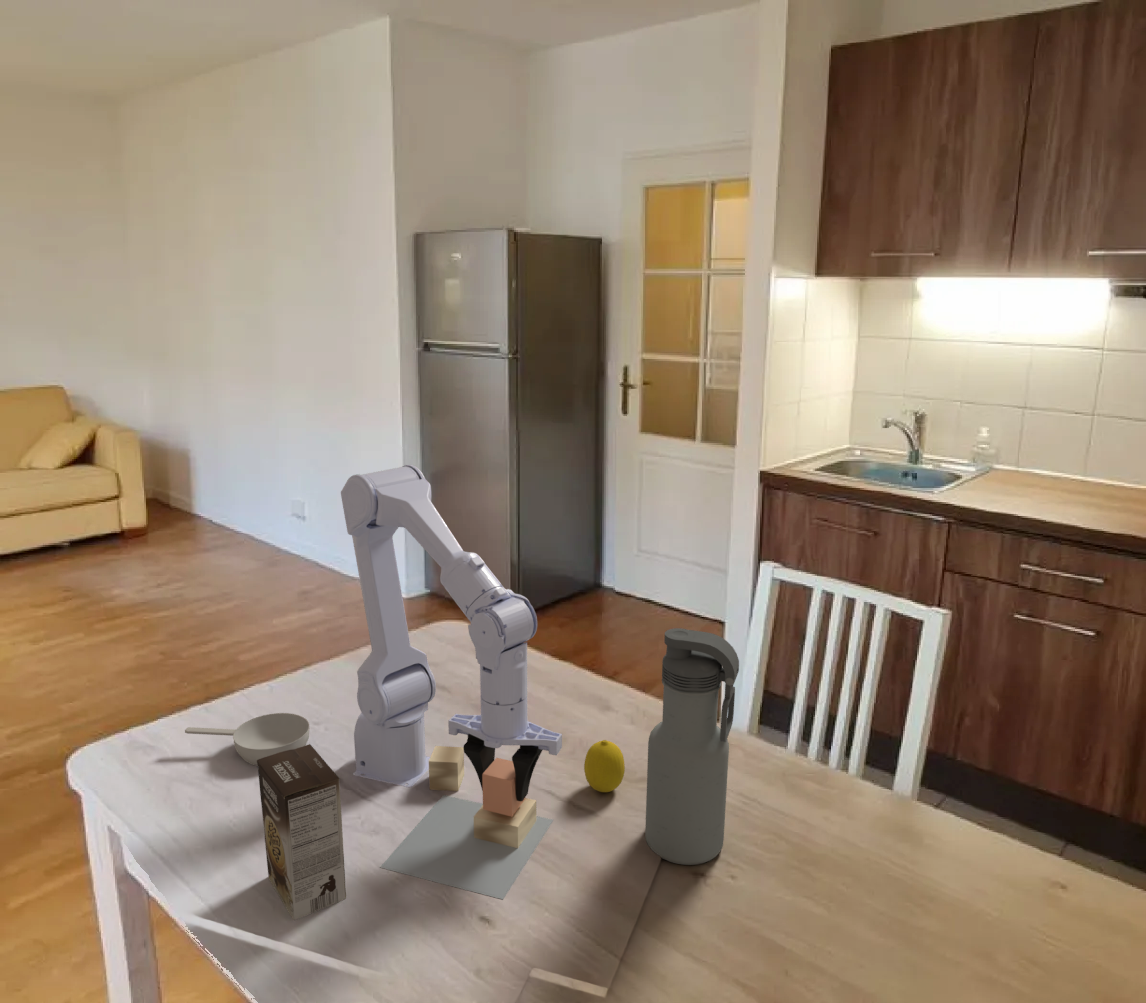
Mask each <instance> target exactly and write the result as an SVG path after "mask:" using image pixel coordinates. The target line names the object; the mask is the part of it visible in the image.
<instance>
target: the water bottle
mask: <svg viewBox="0 0 1146 1003" xmlns="http://www.w3.org/2000/svg"><path fill="white" fill-rule="evenodd" d="M663 640H664V642H663V643H664V645H666V652H665V655H663V657H662V661H661V662H662V663H661V664H662V666H661V667H662V668H661V670H662V671H661V683H662V686H663V691H662V692H663V694H662V696H663V698H662V720H661V722H659V723H657V724H656V725H655V726H654V727H653V729H652V730H651V732H650V734H649V735H648V740H647V741H648V742H647V770H646V771H647V772H646V798H645V828H644V829H645V831H644V832H645V833H644V834H645V841H646V843H647V845H648V847H649V848H650V849H651V850H652V851H653V853H655V854H656V855H657V856H659V857H661V859H663V860H665V861H667V862H670V863H673V864H677V865H682V866H683V865H684V866H692V865H694V866H695V865H701V864H705V863H706V862H710V861H712V860H713V859H714V858H716V857H717V856H718V855H719V854H720V852H722V849H723V846H724V840H725V825H726V824H725V823H726V806H727V788H728V787H727V786H728V771H729V758H730V757H729V756H730V754H729V753H730V746H729V740H728V738H729V734H730V732H731V729H732V726H733V721H734V713H735V712H734V711H735V696H736V687H735V686H734V685H735V682H736V679H737V677H738V674H739V672H740V659H739V657H738V653H737V652H736V650H735V649H734V646H732V645H731V644H730V643H729V642H728V640H726V639H725V638H723V637H722V636H719V635H717V634H715V633H711V632H707V631H700V630H694V629H693V630H692V629H687V628H682V627H681V628H680V627H679V628H677V627H676V628H670V629H667V630H666V631H665V632H664V639H663ZM722 682H724V699H723V701H722V706H721V713H720V727H719V726H718V725H717V724H718V708H719V706H718V705H719V690H720V689H721V686H722Z"/></svg>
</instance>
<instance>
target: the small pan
mask: <svg viewBox="0 0 1146 1003" xmlns="http://www.w3.org/2000/svg"><path fill="white" fill-rule="evenodd" d="M184 733H185V734H189V735H190V734H192V735H209V736H211V735H213V736H232V739H233V744H234V748H235V751H236V752H237V753H238V754H239V757H240V758H242V759H243V760H244V761H245V762H246V763H248V764H250V765H252V766H256V767H258V765H257V760H258V759H261V758H264V757H267V756H270V755H273V754H276V753H279V752H283V751H287V750H291V749H296V748H299V747H303V746H306V745H308V744H307V743H308V741H309V738H310V722H309V720H307V719H306V718H305V717H304V716H303V715H299V714H296V713H289V712H275V713H268V714H264V715H260V716H257V717H254V718H250V719H248V720H246V721H245V722H243V723H242V724H240V725H239V726H238V727H237V728H236V729H235V728H233V729H232V728H231V729H230V728H216V727H215V728H212V727H211V728H209V727H191V726H190V727H186V728H185V729H184Z"/></svg>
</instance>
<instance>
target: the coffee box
mask: <svg viewBox="0 0 1146 1003" xmlns="http://www.w3.org/2000/svg"><path fill="white" fill-rule="evenodd" d="M257 765H258V766H257ZM257 765H256V766H257V773H258V774H257V775H258V782H259V783H258V784H259V794H260V803H261V813H262V824H263V833H264V845H265V852H266V853H265V855H266V866H267V875H268V880H269V881H270V883H271V885H272V887H273V889H274V890H275V892H276V894H277V895H278V897H279V899H280V901H281V902H282V904H283V905H284V907H285V909H286V910H287V913H289V915H290V917H291V919H292V920H293V921H296V920H300V919H301V918H303V917H307V916H309V915H311V914H313V913H314V914H315V912H318V911H321V910H323V909H325V908H327V907H330V906H332V905H335V904H336V903H340V902H341V901H344V900H345V899H347V890H346V873H345V856H344V855H345V853H344V837H343V833H344V832H343V817H342V815H343V814H342V804H341V802H342V800H341V784H340V777H339V776H338V775H337V773H335V771H334V770H333V769H332V768H331V767H330V765H329V764H328V763H327V762H326V761H325V759H324V758H323V757H321V755H320V754H319V752H318V751H316V749H315V748H314V746H312V745H311V744H310V743H308V744H306V745H305V746H303V747H299V748H296V749H291V750H287V751H283V752H279V753H276V754H273V755H270V756H267V757H264V758H261V759H258V760H257Z"/></svg>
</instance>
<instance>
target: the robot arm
mask: <svg viewBox="0 0 1146 1003" xmlns="http://www.w3.org/2000/svg"><path fill="white" fill-rule="evenodd" d="M340 497H341V502H342V507H343V508H342V509H343V514H344V520H345V525H346V526H345V527H346V531H347V534H348V535H350V536H352V543H353V547H354V548H353V549H354V555H355V560H356V567H357V571H358V576H359V583H360V590H361V595H362V602H363V607H364V613H365V617H366V618H365V619H366V622H367V628H368V635H369V640H370V646H371V651H370V653H369V655H368V656H367V657H366V659H364V661H363V662H362V664H361V665H360V666H359V668H358V669H357V670H356V673H357V682H358V687H357V693H356V698H357V699H356V700H357V704H358V707H359V710H360V714H359V716H358V717H357V719H356V722H355V726H354V730H353V739H354V740H353V742H354V743H353V744H354V760H355V771H354V772H353V773H352V774H353V776H356V777H361V778H365V779H369V780H375V781H378V782H382V783H387V784H391V785H396V786H401V787H406V788H412V787H414V785H415V784H417V782H418V781H419V780H420V779H421V778H422V777H423V776H424V775H425V774H426V773H427V772H429V759H430V757H431V756H427V755H426V754H427V753H426V734H425V733H426V732H425V712H427V711H428V710H429V703H430V702H432V701H433V699H434V698H435V696H436V690H437V683H436V679H435V675H434V674H433V671H432V670H431V668H430V664H429V662H428V657H427V653H426V652H424V651H422V650H421V649H418V648H417V647H414V646H412V645H411V641H410V635H409V628H408V623H407V616H406V611H405V604H404V600H403V593H402V587H401V581H400V575H399V570H398V563H397V558H396V552H395V545H394V540H393V537H394V535H395V533H396V532H397V531H398V529H399V528H403V529H404V528H405V530H406V531H407V532H408V533H409V534H410V535H411V536H412V537H413V538H414V539H415V540H416V542H417V543H418V544H419V545H420V546H421V547H422V548H423V550H424V551H425V552H426V553H427V554H428V555H429V556H430V557H431V558H432V559H433V560H434V561H435V563H437V565H439V567H440V575H439V576H440V577H439V581H440V584H441V585H442V586H443V587H444V589H445V590H446V592H447V593H448V594H449V595H450V597H451V598H452V600H453V601H454V602H455V604H456V605H457V606H458V608H460V610H461V611H462V612H463V614H464V615H465V617H466V618H467V620H468V621H469V622H470V624H468V625H467V628H468V634H469V637H470V640H471V642H472V644H473V646H474V651H475V659H476V660H477V662H476V663H478V664H479V675H480V676H479V679H480V680H479V685H480V686H479V688H480V714H460V713H455V714H454V715H453V716H451V717H450V718H449V719H448V722H447V723H448V734H449V735H451V736H457V735H458V734H460V735H467V739H466V742H465V743H464V744H463V747H464V755H465V756H467V758H468V759H469V761H470V763H471V764H472V765H473V766H472V767H473V768H474V769H475V770H474V771H475V772H476V775H477V779H478V781H479V783H480V787H481V788H480V789H481V792H483V783H482V774H483V773H484V772H485V770H486V769H487V768H488V767H489V766H490V765H491V764H492V762H493V761H494V760H495V759H496V758H495V757H496V756H495V754H496V749H499V748H501V747H502V746H519V748H517V750H516V751H515V752H514V754H513V755H512V756H511V761H513V764H514V769H515V775H516V799H517V801H523V800H524V798H526V797H527V796H528V794H529V788H530V783H531V780H532V779H531V778H532V776H533V774H534V770H535V768H536V765H537V763H538V760H539V759H540V757H541V754H542V752H543V751H547V752H548V754H549V755H552V756H557V755H558V754H559V753H560V751H561V750H562V748H563V733H560V732H555V731H552V730H550V729H547V728H545V727H543V726H541V725H538V724H536V723H533V722H531V721H529V719H528V641H529V640H530V639H532V638H533V637H534V636H535V635H536V633H537V630H538V617H537V613H536V611H535V609H534V607H533V605H532V604H531V602H530V600H529V599H528V598H527V597H526V596H524V595H522V594H520V593H515V592H514V591H513V590H512V589H510V588H507V589H506V588H505V587H504V585H502V583H501V582H500V580H499V579H498V578H497V576H495V574H494V573H493V571H491V569H490V568H489V567H488V565H487V564H486V563H485V561H484V560H483V559H482V558H481V556H480V555H479V554H478V553H476V552H473V551H470V552H469V551H464V550H463V547H462V546H461V545H460V543H459V542H458V540H457V539H456V537H455V536H454V534H453V533H452V531H451V530H450V528H449V527H448V525H447V523H446V522H445V520H444V519H443V517H442V515H441V514H440V513H439V511H438V510H437V508H436V507H435V504H433V502H432V486H431V483H430V482H429V481H428V480H427V479H426V476H424V473H423V472H422V471H421V469H419V467H417V466H416V465H414V464H405V465H402V466H399V467H395V468H390V469H384V470H380V471H373V472H369V473H368V472H367V473H363V474H360V473H359V474H353V475H351V476H349V477H348V479H347V481H346V482H345V484H344V486H343V487H342V489H341V490H340Z"/></svg>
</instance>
